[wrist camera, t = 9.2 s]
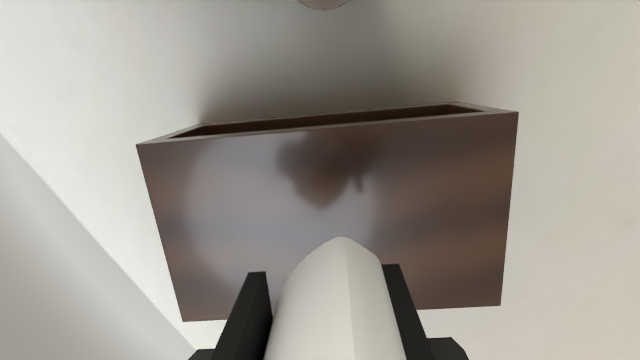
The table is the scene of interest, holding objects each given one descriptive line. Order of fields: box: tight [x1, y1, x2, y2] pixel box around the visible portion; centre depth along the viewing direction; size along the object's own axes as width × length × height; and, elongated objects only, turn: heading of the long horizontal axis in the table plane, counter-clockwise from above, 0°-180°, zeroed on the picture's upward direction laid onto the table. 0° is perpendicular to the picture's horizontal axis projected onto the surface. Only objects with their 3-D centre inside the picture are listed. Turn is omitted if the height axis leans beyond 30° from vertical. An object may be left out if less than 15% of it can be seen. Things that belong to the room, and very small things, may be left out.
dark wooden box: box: [136, 102, 519, 322], centre depth 27 cm, size 14×24×10 cm, turn 95°
